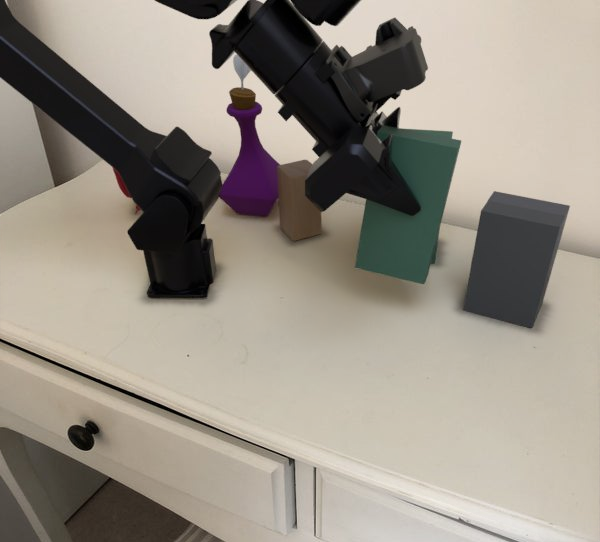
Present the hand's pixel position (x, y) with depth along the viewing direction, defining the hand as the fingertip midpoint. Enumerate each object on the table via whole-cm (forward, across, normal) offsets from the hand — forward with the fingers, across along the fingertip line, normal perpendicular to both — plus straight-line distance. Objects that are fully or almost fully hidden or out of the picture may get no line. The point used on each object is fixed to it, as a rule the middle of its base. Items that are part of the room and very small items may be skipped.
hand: (418, 205), depth 59 cm
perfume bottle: (-7, +18, +23) cm, 30 cm away
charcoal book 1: (+14, 0, +1) cm, 15 cm away
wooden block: (-2, +14, +18) cm, 23 cm away
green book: (+4, -1, +6) cm, 7 cm away
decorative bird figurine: (-18, +18, +34) cm, 43 cm away
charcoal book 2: (+15, +3, +1) cm, 15 cm away
